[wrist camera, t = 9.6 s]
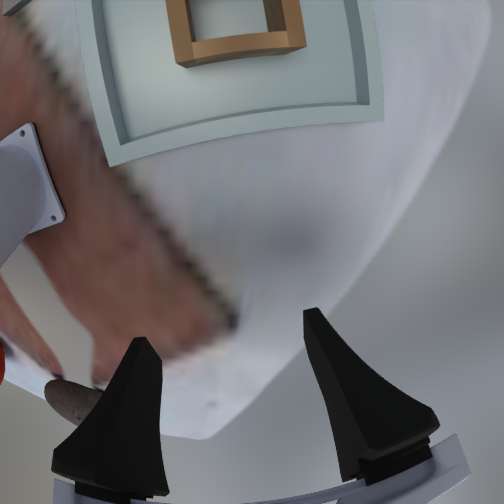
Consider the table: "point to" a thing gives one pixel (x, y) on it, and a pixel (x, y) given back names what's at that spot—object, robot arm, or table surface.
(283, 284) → the table surface
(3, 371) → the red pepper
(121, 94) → the pale green tray
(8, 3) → the post board
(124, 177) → the table surface
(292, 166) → the table surface
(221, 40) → the walnut collar
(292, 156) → the table surface
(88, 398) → the perforated stone tool
